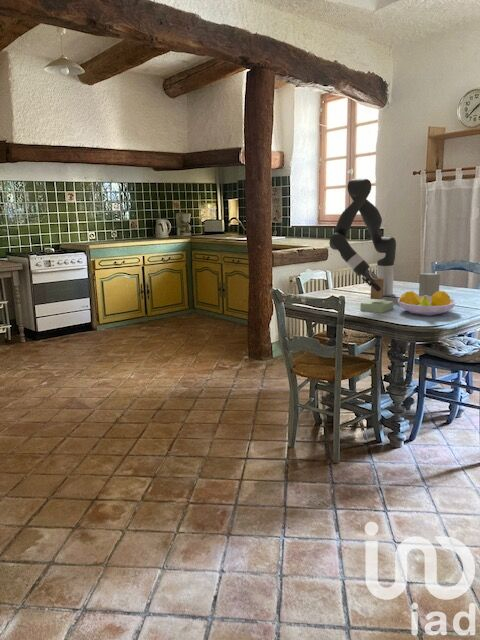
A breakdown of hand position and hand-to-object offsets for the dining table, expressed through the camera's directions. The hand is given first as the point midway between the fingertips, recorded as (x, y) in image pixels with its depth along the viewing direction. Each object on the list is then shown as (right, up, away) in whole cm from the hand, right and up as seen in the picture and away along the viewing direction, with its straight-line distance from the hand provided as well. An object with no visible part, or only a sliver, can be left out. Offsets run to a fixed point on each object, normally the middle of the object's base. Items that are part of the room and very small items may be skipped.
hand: (380, 289), depth 257 cm
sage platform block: (-1, -10, +3) cm, 11 cm away
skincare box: (+29, -7, +14) cm, 33 cm away
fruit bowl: (+19, -12, -8) cm, 24 cm away
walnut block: (-2, -4, +2) cm, 5 cm away
